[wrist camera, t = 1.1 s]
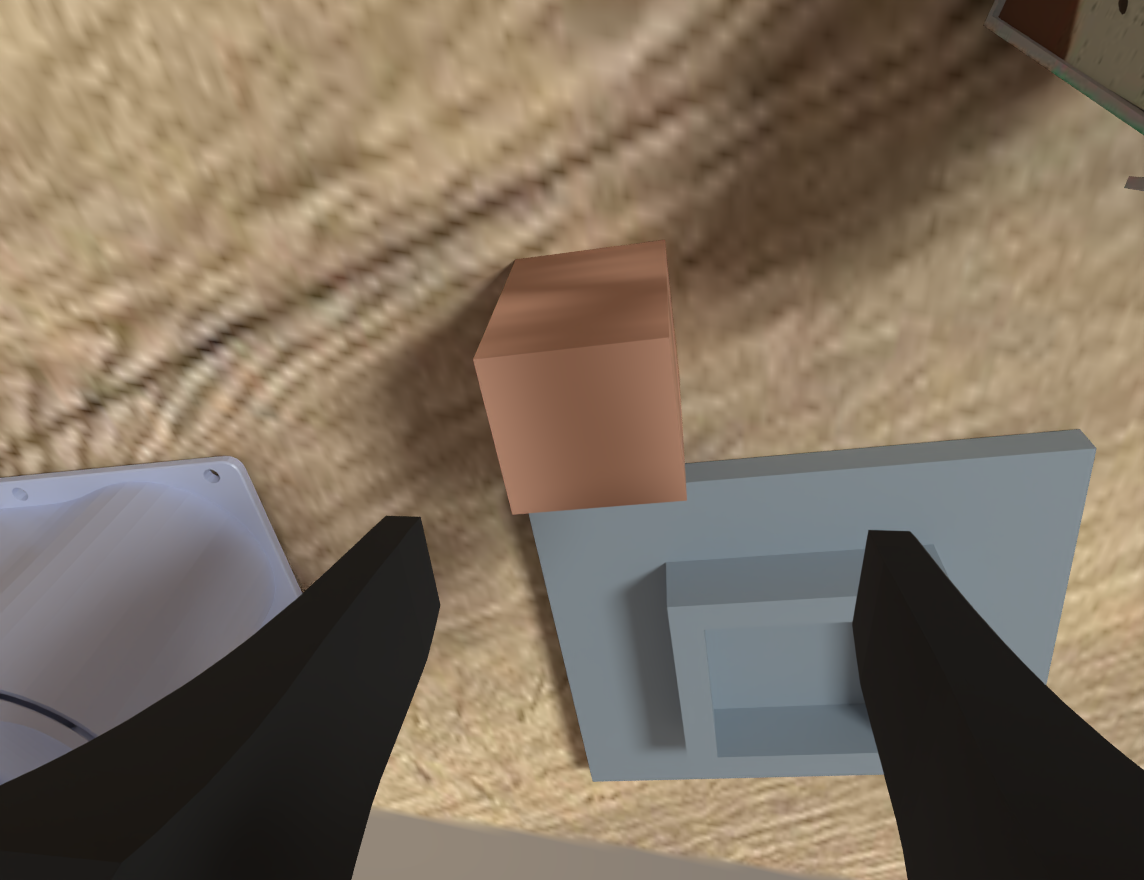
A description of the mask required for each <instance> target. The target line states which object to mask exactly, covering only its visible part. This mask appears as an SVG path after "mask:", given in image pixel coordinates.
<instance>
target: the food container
mask: <svg viewBox="0 0 1144 880" xmlns="http://www.w3.org/2000/svg"><path fill="white" fill-rule="evenodd" d="M984 26H985V27H986V28H988V29H989V30H991V31H992V32H994V33H995V34H997V35H998V36H1000V37H1001V38H1003V39H1004V40H1005V41H1007V42H1008V43H1010V44H1011V45H1013V46H1014V47H1016V48H1017V49H1019V50H1020V51H1021V52H1023V53H1024V54H1026V55H1027V56H1029V57H1030V58H1032V59H1033V60H1035V61H1036V62H1038V63H1039V64H1040V65H1042V66H1043V67H1045V68H1046V69H1048V70H1049V71H1051V72H1052V73H1054V74H1055V75H1057V76H1058V77H1059V78H1061V79H1062V80H1064V81H1065V82H1067V83H1068V84H1070V85H1071V86H1073V87H1074V88H1075V89H1077V90H1078V91H1080V92H1081V93H1083V94H1084V95H1086V96H1087V97H1089V98H1090V99H1092V100H1093V101H1094V102H1096V103H1097V104H1099V105H1100V106H1102V107H1103V108H1105V109H1106V110H1108V111H1109V112H1111V113H1112V114H1113V115H1115V116H1116V117H1118V118H1119V119H1121V120H1122V121H1124V122H1125V123H1127V124H1128V125H1130V126H1131V127H1132V128H1134V129H1135V130H1137V131H1138V132H1140V133H1141V134H1143V135H1144V0H995V1H994V3H993V6H992V8H991V10H990V12H989V14H988V17H987V19H986V21H985V23H984ZM1124 188H1128V189H1134V190H1141V191H1144V177H1132V176H1129V178H1128V180H1127V182H1126V185H1125V187H1124Z"/></svg>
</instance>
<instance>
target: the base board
mask: <svg viewBox="0 0 1144 880" xmlns="http://www.w3.org/2000/svg"><path fill="white" fill-rule="evenodd" d="M1095 453H1096V447H1095V446H1094V445H1093V444H1092V443H1091V441H1090V440H1089V439H1088V438H1087V437H1086V436H1085V435H1084V433H1083V432H1082V431H1081V430H1080V429H1076V430H1065V431H1054V432H1042V433H1031V434H1019V435H1008V436H996V437H985V438H973V439H962V440H951V441H939V442H928V443H916V444H905V445H893V446H882V447H870V448H859V449H848V450H836V451H825V452H813V453H802V454H790V455H779V456H767V457H756V458H745V459H733V460H722V461H710V462H699V463H687V464H685V475H686V491H687V501H676V502H663V503H651V504H638V505H626V506H614V507H601V508H589V509H576V510H564V511H551V512H539V513H529V517H530V522H531V526H532V530H533V534H534V538H535V543H536V547H537V551H538V555H539V559H540V563H541V568H542V572H543V576H544V580H545V584H546V588H547V593H548V597H549V601H550V605H551V609H552V613H553V618H554V622H555V626H556V630H557V634H558V638H559V643H560V647H561V651H562V655H563V659H564V663H565V668H566V672H567V676H568V680H569V684H570V688H571V693H572V697H573V701H574V705H575V709H576V713H577V718H578V722H579V726H580V730H581V734H582V738H583V743H584V747H585V751H586V755H587V759H588V763H589V768H590V772H591V776H592V780H593V782H596V781H636V780H677V779H718V778H759V777H799V776H840V775H881V774H884V773H883V769H882V765H881V762H880V758H879V754H878V750H877V747H876V743H875V739H874V735H873V732H872V728H871V724H870V720H869V716H868V713H867V709H866V705H865V701H864V697H863V693H862V689H861V685H860V679H859V672H858V665H857V659H856V651H855V643H854V635H853V627H852V621H853V616H854V610H855V604H856V598H857V593H858V587H859V581H860V575H861V570H862V564H863V558H864V552H865V546H866V541H867V535H868V530H892V531H910V532H911V533H912V534H913V535H914V536H915V537H916V538H917V539H918V540H919V542H920V543H921V544H922V545H923V547H924V548H925V549H926V550H927V552H928V553H929V554H930V556H931V557H932V558H933V559H934V561H935V562H936V563H937V564H938V566H939V567H940V568H941V569H942V571H943V572H944V573H945V574H946V576H947V577H948V578H949V579H950V580H951V582H952V583H953V584H954V585H955V586H956V588H957V589H958V590H959V591H960V592H961V594H962V595H963V596H964V597H965V598H966V600H967V601H968V602H969V603H970V604H971V605H972V607H973V608H974V609H975V610H976V611H977V612H978V614H979V615H980V616H981V617H982V618H983V619H984V620H985V621H986V622H987V624H988V625H989V626H990V627H991V628H992V629H993V630H994V631H995V633H996V634H997V635H998V636H999V637H1000V638H1001V639H1002V640H1003V641H1004V643H1005V644H1006V645H1007V646H1008V647H1009V648H1010V649H1011V650H1012V651H1013V652H1014V653H1015V654H1016V655H1017V656H1018V657H1019V658H1020V659H1021V661H1022V662H1023V663H1024V664H1025V665H1026V666H1027V667H1028V668H1029V669H1030V670H1031V671H1032V672H1033V673H1034V674H1035V675H1036V676H1037V677H1038V678H1039V679H1040V680H1041V681H1042V682H1043V683H1044V684H1045V685H1046V683H1047V679H1048V674H1049V669H1050V664H1051V660H1052V655H1053V650H1054V646H1055V641H1056V636H1057V632H1058V627H1059V622H1060V617H1061V613H1062V608H1063V603H1064V599H1065V594H1066V589H1067V584H1068V580H1069V575H1070V570H1071V566H1072V561H1073V556H1074V552H1075V547H1076V542H1077V537H1078V533H1079V528H1080V523H1081V519H1082V514H1083V509H1084V505H1085V500H1086V495H1087V490H1088V486H1089V481H1090V476H1091V472H1092V467H1093V462H1094V458H1095Z"/></svg>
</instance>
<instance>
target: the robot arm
mask: <svg viewBox="0 0 1144 880" xmlns="http://www.w3.org/2000/svg"><path fill="white" fill-rule="evenodd" d="M210 470H214V471H215V472H217V473H218V475H219V476H216V475H215V474H213V473H212V472H211V471H210ZM23 490H24V491H23ZM439 609H440V601H439V597H438V592H437V588H436V583H435V579H434V574H433V570H432V566H431V561H430V557H429V552H428V548H427V543H426V539H425V534H424V530H423V526H422V521H421V517H407V516H385V517H384V518H383V519H382V520H381V521H380V522H379V523H378V524H377V525H375V526H374V527H373V528H372V529H371V530H370V531H369V532H368V533H367V534H366V535H365V536H364V537H363V538H362V539H361V540H360V541H359V542H357V543H356V544H355V545H354V546H353V547H352V548H351V549H350V550H349V551H348V552H347V553H346V554H345V555H344V556H343V557H342V558H340V559H339V560H338V561H337V562H336V563H335V564H334V565H333V566H332V567H331V568H330V569H329V570H328V571H327V572H325V573H324V574H323V575H322V576H321V577H320V578H319V579H318V580H317V581H316V582H315V583H313V584H312V585H311V586H310V587H309V588H308V589H307V590H306V591H305V592H304V593H302V591H301V589H300V587H299V585H298V583H297V580H296V578H295V576H294V574H293V572H292V569H291V567H290V565H289V563H288V561H287V558H286V556H285V554H284V552H283V550H282V547H281V545H280V543H279V541H278V539H277V536H276V534H275V532H274V530H273V528H272V525H271V523H270V521H269V519H268V517H267V514H266V512H265V510H264V508H263V506H262V503H261V501H260V499H259V497H258V495H257V492H256V490H255V488H254V486H253V484H252V481H251V479H250V477H249V475H248V473H247V470H246V468H245V466H244V465H243V464H242V462H240V461H239V460H238V459H236V458H234V457H231V456H218V457H208V458H198V459H188V460H178V461H167V462H157V463H147V464H137V465H126V466H116V467H106V468H96V469H86V470H75V471H65V472H55V473H45V474H34V475H24V476H14V477H4V478H0V880H351V879H352V875H353V871H354V867H355V863H356V860H357V856H358V852H359V849H360V845H361V842H362V838H363V835H364V831H365V828H366V824H367V820H368V817H369V813H370V810H371V806H372V803H373V800H374V797H375V795H376V792H377V789H378V786H379V783H380V780H381V777H382V775H383V772H384V770H385V767H386V765H387V762H388V759H389V757H390V754H391V752H392V749H393V747H394V744H395V742H396V739H397V736H398V734H399V731H400V729H401V726H402V724H403V721H404V719H405V716H406V714H407V711H408V708H409V706H410V703H411V701H412V698H413V696H414V693H415V690H416V688H417V685H418V682H419V680H420V677H421V675H422V672H423V669H424V667H425V664H426V661H427V658H428V654H429V650H430V646H431V643H432V639H433V635H434V631H435V626H436V622H437V618H438V613H439ZM852 627H853V635H854V643H855V651H856V659H857V665H858V672H859V679H860V685H861V689H862V693H863V697H864V701H865V705H866V709H867V713H868V716H869V720H870V724H871V728H872V732H873V735H874V739H875V743H876V747H877V750H878V754H879V758H880V762H881V765H882V769H883V773H884V777H885V780H886V784H887V788H888V792H889V795H890V799H891V803H892V806H893V810H894V814H895V818H896V822H897V826H898V831H899V835H900V840H901V844H902V849H903V854H904V860H905V866H906V872H907V878H908V880H1144V770H1143V769H1142V768H1140V767H1139V766H1138V765H1137V764H1135V763H1134V762H1133V761H1132V760H1130V759H1129V758H1128V757H1127V756H1125V755H1124V754H1123V753H1122V752H1120V751H1119V750H1118V749H1117V748H1116V747H1114V746H1113V745H1112V744H1111V743H1109V742H1108V741H1107V740H1106V739H1105V738H1104V737H1103V736H1101V735H1100V734H1099V733H1098V732H1097V731H1096V730H1095V729H1093V728H1092V727H1091V726H1090V725H1089V724H1088V723H1087V722H1085V721H1084V720H1083V719H1082V718H1081V717H1080V716H1079V715H1077V714H1076V713H1075V712H1074V711H1073V710H1072V709H1071V708H1069V707H1068V706H1067V705H1066V704H1065V703H1064V702H1063V701H1062V700H1061V699H1060V698H1059V697H1058V696H1057V695H1056V694H1055V693H1054V692H1053V691H1051V690H1050V689H1049V688H1048V687H1047V686H1046V685H1045V684H1044V683H1043V682H1042V681H1041V680H1040V679H1039V678H1038V677H1037V676H1036V675H1035V674H1034V673H1033V672H1032V671H1031V670H1030V669H1029V668H1028V667H1027V666H1026V665H1025V664H1024V663H1023V662H1022V661H1021V659H1020V658H1019V657H1018V656H1017V655H1016V654H1015V653H1014V652H1013V651H1012V650H1011V649H1010V648H1009V647H1008V646H1007V645H1006V644H1005V643H1004V641H1003V640H1002V639H1001V638H1000V637H999V636H998V635H997V634H996V633H995V631H994V630H993V629H992V628H991V627H990V626H989V625H988V624H987V622H986V621H985V620H984V619H983V618H982V617H981V616H980V615H979V614H978V612H977V611H976V610H975V609H974V608H973V607H972V605H971V604H970V603H969V602H968V601H967V600H966V598H965V597H964V596H963V595H962V594H961V592H960V591H959V590H958V589H957V588H956V586H955V585H954V584H953V583H952V582H951V580H950V579H949V578H948V577H947V576H946V574H945V573H944V572H943V571H942V569H941V568H940V567H939V566H938V564H937V563H936V562H935V561H934V559H933V558H932V557H931V556H930V554H929V553H928V552H927V550H926V549H925V548H924V547H923V545H922V544H921V543H920V542H919V540H918V539H917V538H916V537H915V536H914V535H913V534H912V533H911V532H910V531H892V530H868V535H867V541H866V546H865V552H864V558H863V564H862V570H861V575H860V581H859V587H858V593H857V598H856V604H855V610H854V616H853V621H852Z"/></svg>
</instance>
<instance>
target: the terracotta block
mask: <svg viewBox="0 0 1144 880" xmlns="http://www.w3.org/2000/svg"><path fill="white" fill-rule="evenodd" d="M473 361H474V365H475V369H476V373H477V377H478V381H479V385H480V389H481V393H482V397H483V401H484V405H485V408H486V412H487V416H488V420H489V424H490V428H491V432H492V436H493V440H494V444H495V448H496V452H497V456H498V460H499V464H500V467H501V471H502V475H503V479H504V483H505V487H506V491H507V495H508V499H509V503H510V507H511V511H512V515H514V514H527V513H539V512H551V511H564V510H576V509H589V508H601V507H614V506H626V505H638V504H651V503H663V502H676V501H687V491H686V475H685V459H684V443H683V427H682V410H681V394H680V378H679V368H678V358H677V349H676V339H675V330H674V320H673V311H672V301H671V292H670V282H669V273H668V263H667V254H666V244H665V240H659V241H652V242H644V243H636V244H629V245H621V246H614V247H606V248H599V249H591V250H584V251H576V252H569V253H561V254H554V255H546V256H538V257H531V258H523V259H516V260H515V262H514V264H513V267H512V269H511V271H510V274H509V276H508V279H507V281H506V283H505V286H504V288H503V290H502V293H501V295H500V297H499V300H498V302H497V304H496V307H495V309H494V311H493V314H492V316H491V319H490V321H489V323H488V326H487V328H486V330H485V333H484V335H483V337H482V340H481V342H480V344H479V347H478V349H477V351H476V354H475V356H474V359H473Z"/></svg>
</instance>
